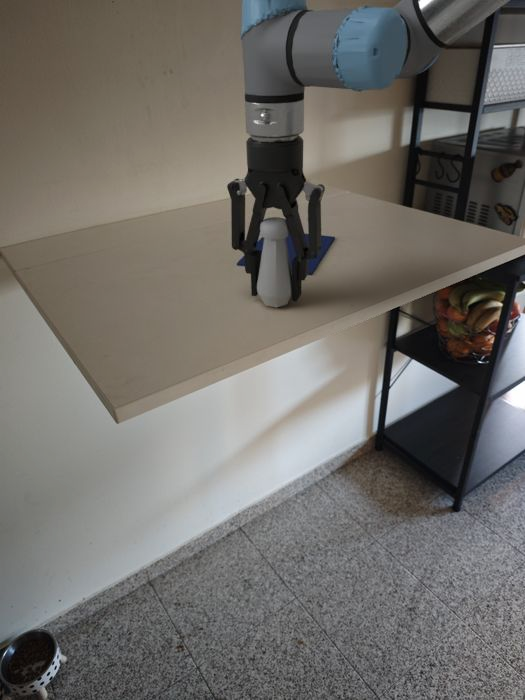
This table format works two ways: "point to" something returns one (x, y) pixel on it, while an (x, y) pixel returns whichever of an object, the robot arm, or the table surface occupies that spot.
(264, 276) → the salt shaker
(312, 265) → the cloth
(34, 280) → the table surface
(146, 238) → the table surface
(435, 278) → the table surface
